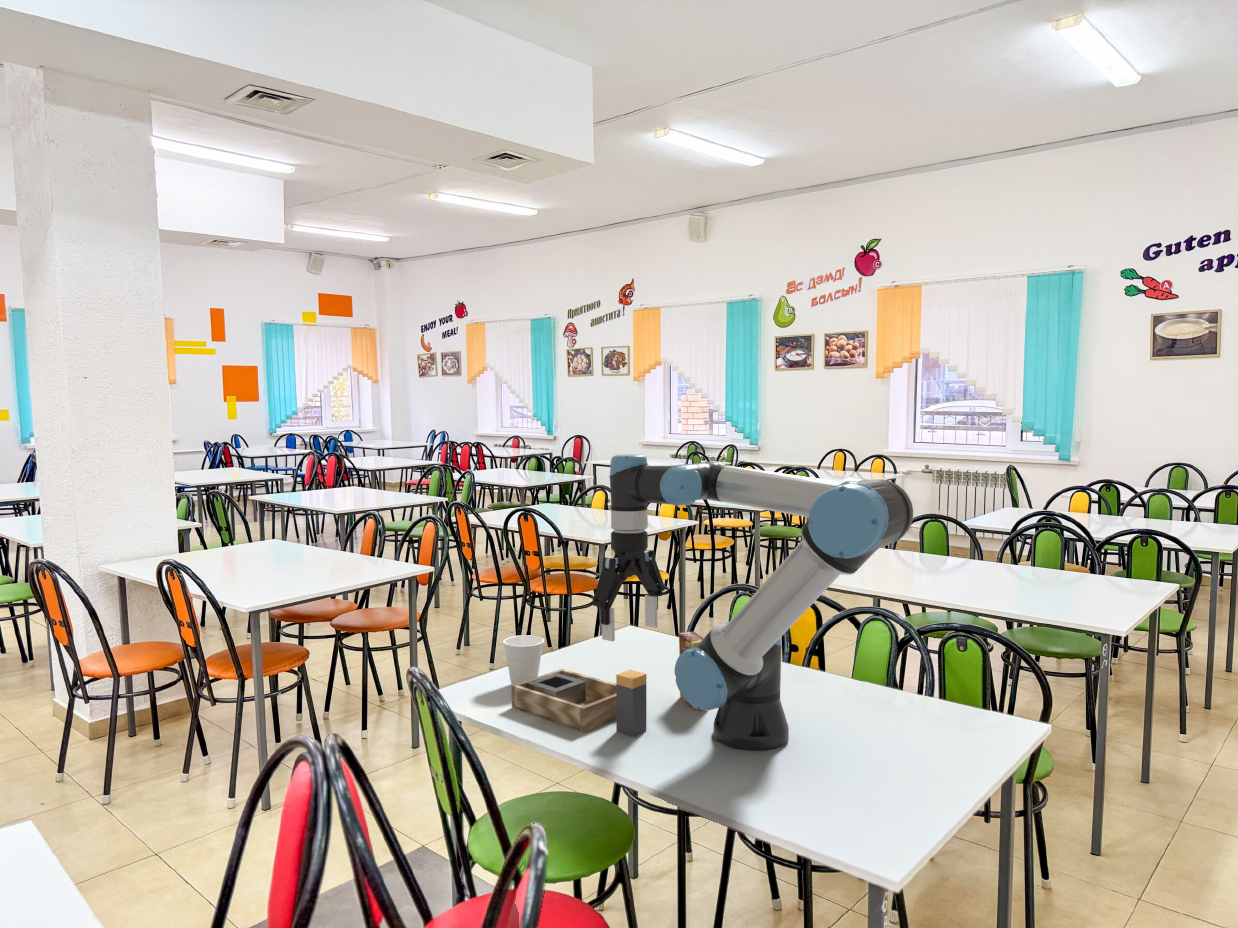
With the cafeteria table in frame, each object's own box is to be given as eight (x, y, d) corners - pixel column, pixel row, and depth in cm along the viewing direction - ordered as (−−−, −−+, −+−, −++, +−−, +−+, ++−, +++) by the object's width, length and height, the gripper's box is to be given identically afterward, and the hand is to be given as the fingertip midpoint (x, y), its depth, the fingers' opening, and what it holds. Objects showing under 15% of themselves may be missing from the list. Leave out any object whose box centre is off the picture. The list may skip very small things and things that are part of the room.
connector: (646, 730, 175) (646, 673, 175) (632, 736, 172) (632, 679, 171) (630, 725, 178) (630, 669, 178) (616, 731, 175) (616, 674, 174)
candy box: (678, 697, 195) (678, 632, 194) (695, 695, 197) (695, 630, 196) (692, 710, 187) (693, 642, 186) (710, 708, 188) (711, 640, 187)
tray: (633, 711, 187) (633, 688, 186) (583, 732, 175) (583, 708, 174) (562, 689, 201) (562, 668, 201) (511, 707, 189) (511, 685, 189)
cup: (542, 692, 199) (542, 646, 198) (500, 692, 199) (499, 646, 198) (546, 678, 209) (546, 634, 208) (506, 678, 209) (506, 634, 208)
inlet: (585, 700, 191) (585, 681, 191) (556, 712, 184) (556, 691, 184) (556, 691, 198) (556, 672, 197) (526, 702, 191) (526, 682, 190)
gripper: (653, 522, 185) (654, 618, 186) (573, 535, 166) (575, 642, 167) (680, 525, 180) (681, 623, 181) (601, 539, 161) (603, 649, 162)
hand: (630, 633), depth 174 cm, fingers open, 13 cm apart
